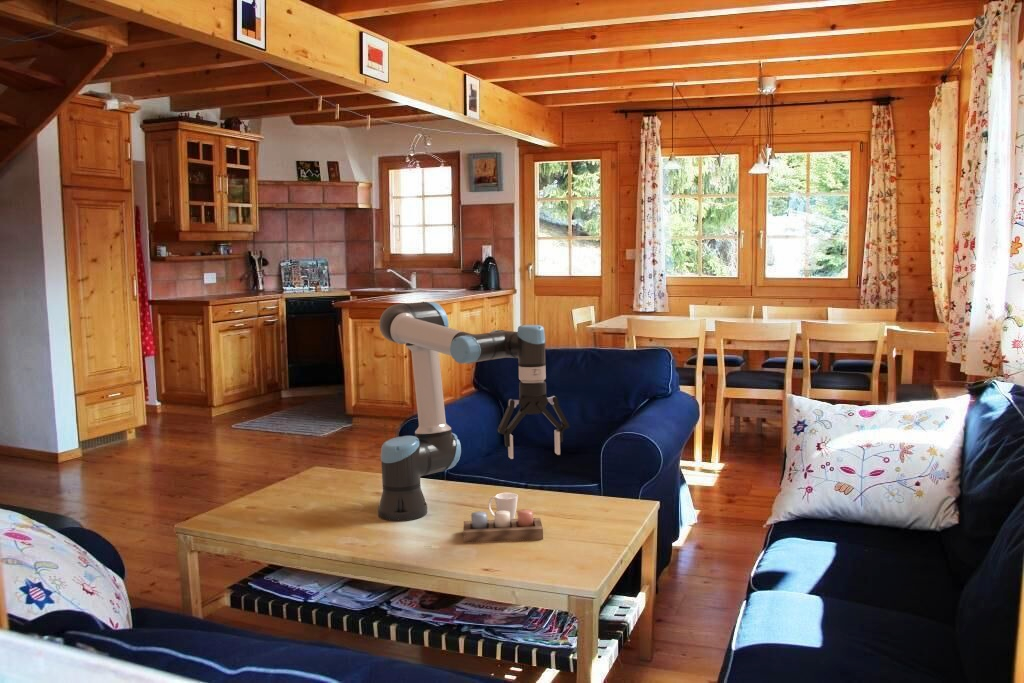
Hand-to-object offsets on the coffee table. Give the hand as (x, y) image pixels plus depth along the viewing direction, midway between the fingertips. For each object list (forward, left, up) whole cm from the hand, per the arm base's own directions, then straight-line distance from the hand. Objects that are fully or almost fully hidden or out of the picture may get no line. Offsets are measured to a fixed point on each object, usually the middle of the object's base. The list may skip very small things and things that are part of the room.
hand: (534, 455), depth 244 cm
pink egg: (-2, -2, -20) cm, 20 cm away
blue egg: (-11, -11, -20) cm, 26 cm away
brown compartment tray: (-7, -7, -23) cm, 24 cm away
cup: (-15, +3, -23) cm, 28 cm away
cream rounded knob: (-7, -7, -20) cm, 22 cm away
